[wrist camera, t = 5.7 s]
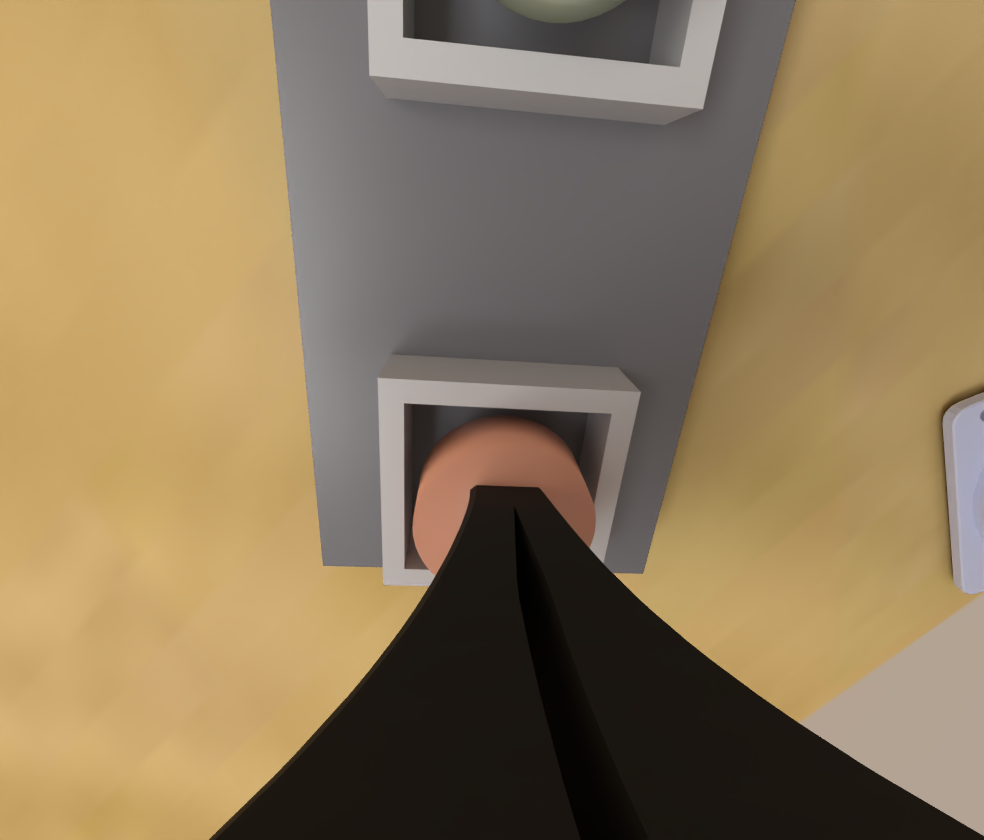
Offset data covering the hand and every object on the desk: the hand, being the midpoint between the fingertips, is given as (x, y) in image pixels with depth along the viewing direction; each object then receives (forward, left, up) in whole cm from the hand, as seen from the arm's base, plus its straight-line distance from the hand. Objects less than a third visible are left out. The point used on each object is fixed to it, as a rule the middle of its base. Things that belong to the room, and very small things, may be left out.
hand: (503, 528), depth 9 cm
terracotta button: (0, 0, -1) cm, 1 cm away
